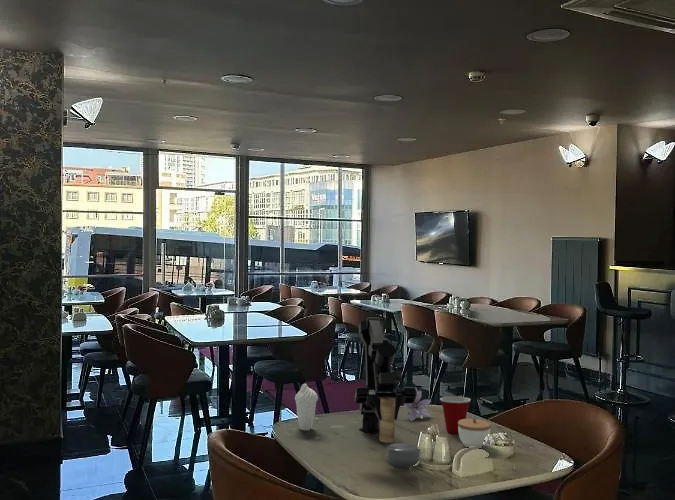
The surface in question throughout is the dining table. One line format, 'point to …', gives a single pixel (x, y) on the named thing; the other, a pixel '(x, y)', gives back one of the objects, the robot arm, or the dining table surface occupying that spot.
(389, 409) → the oak pillar
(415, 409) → the water lily
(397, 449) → the grey round bowl
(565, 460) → the dining table surface
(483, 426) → the lidded jar
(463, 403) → the plastic cup
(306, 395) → the soft serve ice cream cone
